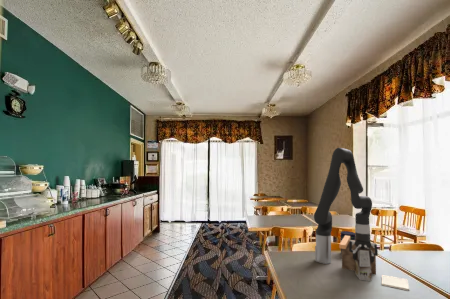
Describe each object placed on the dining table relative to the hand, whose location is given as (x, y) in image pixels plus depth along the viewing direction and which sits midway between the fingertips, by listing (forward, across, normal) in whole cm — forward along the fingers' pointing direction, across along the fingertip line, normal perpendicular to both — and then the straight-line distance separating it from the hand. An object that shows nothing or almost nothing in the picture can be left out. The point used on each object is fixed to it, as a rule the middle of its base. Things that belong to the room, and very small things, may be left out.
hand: (363, 261), depth 152 cm
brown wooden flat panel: (+9, -3, +10) cm, 14 cm away
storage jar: (+9, -12, +41) cm, 43 cm away
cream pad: (+9, +15, 0) cm, 17 cm away
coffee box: (+9, 0, 0) cm, 9 cm away
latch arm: (-8, -9, 0) cm, 13 cm away
